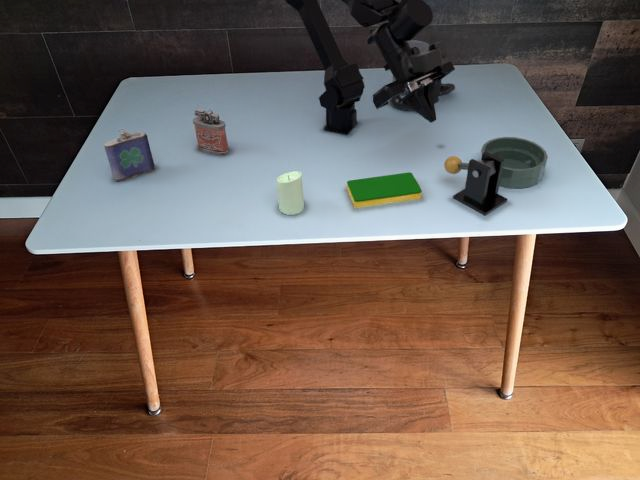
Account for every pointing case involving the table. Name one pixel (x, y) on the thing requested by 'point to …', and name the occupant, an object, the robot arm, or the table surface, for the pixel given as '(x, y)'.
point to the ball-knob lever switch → (482, 186)
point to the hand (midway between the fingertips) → (433, 121)
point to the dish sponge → (383, 189)
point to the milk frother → (438, 89)
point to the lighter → (210, 133)
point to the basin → (518, 161)
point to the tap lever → (464, 165)
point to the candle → (290, 193)
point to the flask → (129, 155)
